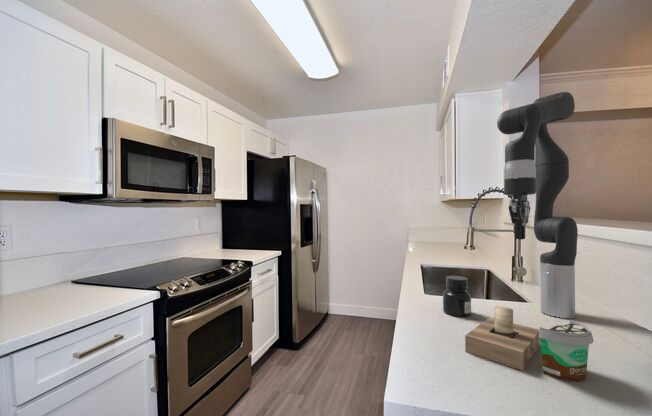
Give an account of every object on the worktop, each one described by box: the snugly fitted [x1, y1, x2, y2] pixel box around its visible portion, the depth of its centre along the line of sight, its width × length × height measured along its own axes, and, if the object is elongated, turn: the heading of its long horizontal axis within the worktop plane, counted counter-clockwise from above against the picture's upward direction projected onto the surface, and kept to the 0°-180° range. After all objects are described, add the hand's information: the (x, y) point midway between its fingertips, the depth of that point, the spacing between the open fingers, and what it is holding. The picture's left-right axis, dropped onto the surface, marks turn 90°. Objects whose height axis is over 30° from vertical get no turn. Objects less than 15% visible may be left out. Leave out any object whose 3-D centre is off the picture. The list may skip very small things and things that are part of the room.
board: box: [464, 317, 541, 371], centre depth 73 cm, size 18×12×4 cm, turn 133°
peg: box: [494, 305, 514, 339], centre depth 73 cm, size 4×4×10 cm
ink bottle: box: [442, 275, 472, 318], centre depth 99 cm, size 10×9×12 cm
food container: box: [538, 319, 594, 383], centre depth 61 cm, size 12×6×10 cm, turn 114°
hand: (520, 239), depth 81 cm, fingers closed
